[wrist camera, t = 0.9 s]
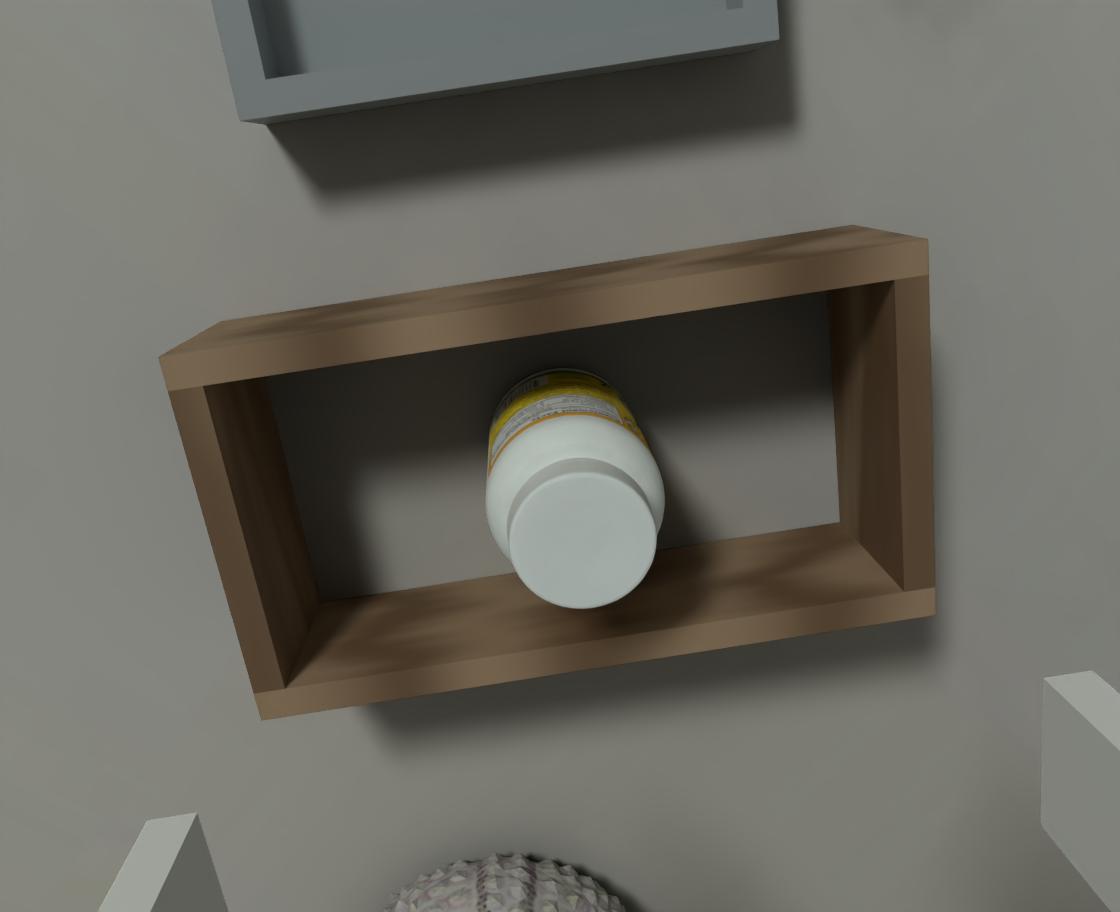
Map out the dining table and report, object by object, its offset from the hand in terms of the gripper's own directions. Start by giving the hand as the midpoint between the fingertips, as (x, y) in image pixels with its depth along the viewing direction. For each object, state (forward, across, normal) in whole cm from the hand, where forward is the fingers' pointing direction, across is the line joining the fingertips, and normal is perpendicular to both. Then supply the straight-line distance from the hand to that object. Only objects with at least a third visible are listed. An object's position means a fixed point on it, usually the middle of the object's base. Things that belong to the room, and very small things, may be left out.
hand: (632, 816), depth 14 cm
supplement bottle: (+21, 0, 0) cm, 21 cm away
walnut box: (+20, 0, 0) cm, 20 cm away
